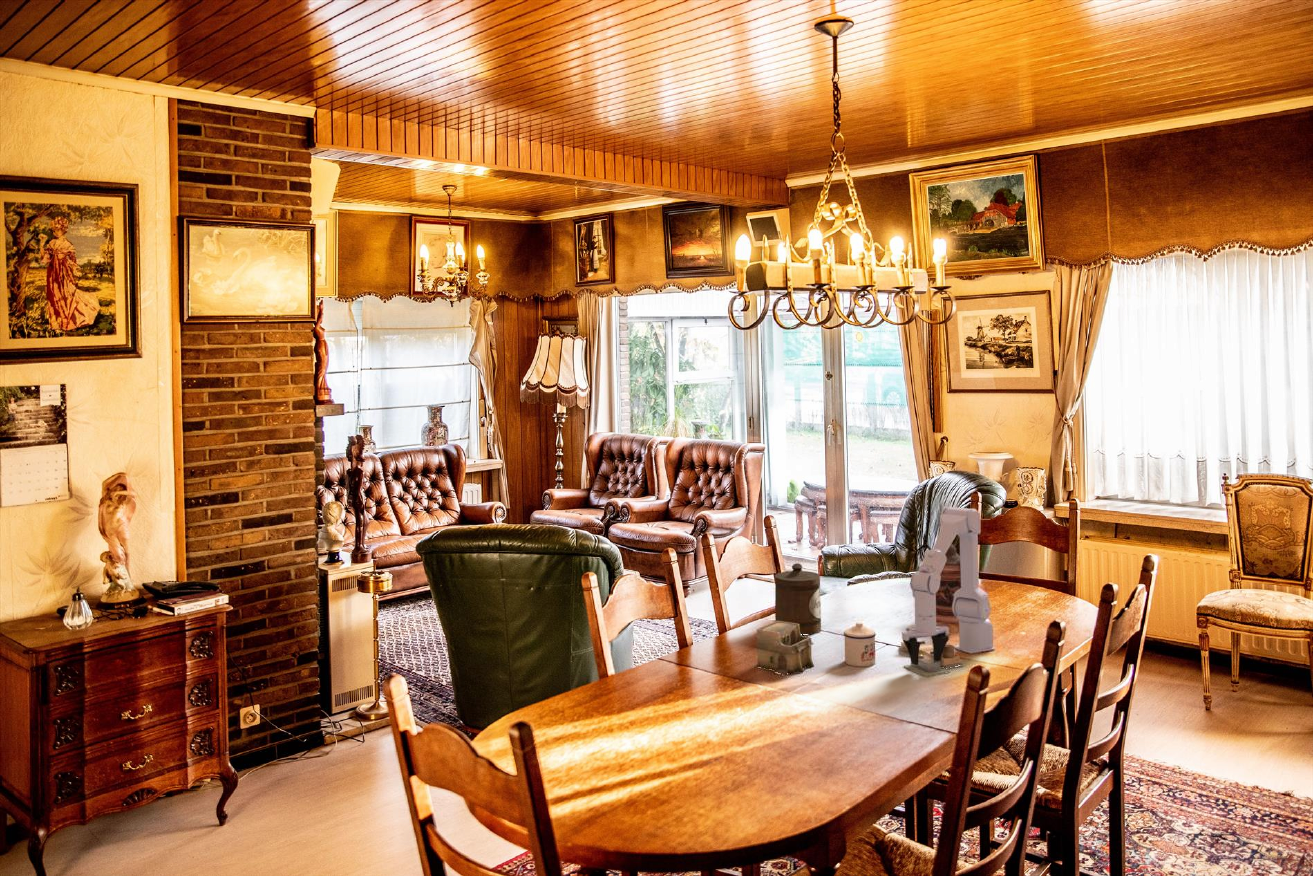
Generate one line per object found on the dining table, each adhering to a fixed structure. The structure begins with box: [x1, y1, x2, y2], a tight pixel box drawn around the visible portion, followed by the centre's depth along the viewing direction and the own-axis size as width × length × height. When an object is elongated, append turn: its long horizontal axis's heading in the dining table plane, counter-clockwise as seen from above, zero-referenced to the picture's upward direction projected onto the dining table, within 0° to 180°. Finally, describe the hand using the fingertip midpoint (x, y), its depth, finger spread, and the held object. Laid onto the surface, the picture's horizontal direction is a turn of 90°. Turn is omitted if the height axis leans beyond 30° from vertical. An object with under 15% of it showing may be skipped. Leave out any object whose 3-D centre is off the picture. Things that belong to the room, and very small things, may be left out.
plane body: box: [898, 627, 964, 670], centre depth 288 cm, size 22×6×6 cm, turn 22°
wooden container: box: [774, 562, 822, 635], centre depth 323 cm, size 15×15×22 cm
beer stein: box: [936, 542, 961, 624], centre depth 330 cm, size 17×28×18 cm
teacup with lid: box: [843, 621, 876, 668], centre depth 286 cm, size 12×9×12 cm
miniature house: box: [754, 620, 815, 676], centre depth 284 cm, size 15×14×11 cm
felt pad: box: [903, 664, 950, 677], centre depth 277 cm, size 8×10×1 cm
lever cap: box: [910, 654, 940, 673], centre depth 277 cm, size 8×4×3 cm, turn 22°
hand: (926, 662), depth 277 cm, fingers open, 7 cm apart
